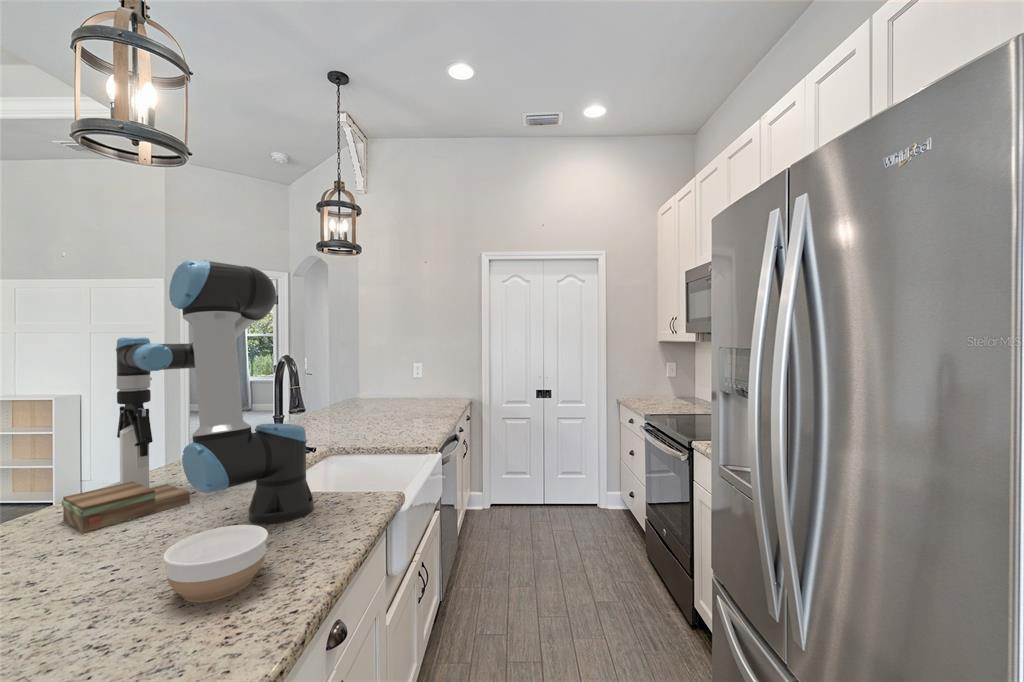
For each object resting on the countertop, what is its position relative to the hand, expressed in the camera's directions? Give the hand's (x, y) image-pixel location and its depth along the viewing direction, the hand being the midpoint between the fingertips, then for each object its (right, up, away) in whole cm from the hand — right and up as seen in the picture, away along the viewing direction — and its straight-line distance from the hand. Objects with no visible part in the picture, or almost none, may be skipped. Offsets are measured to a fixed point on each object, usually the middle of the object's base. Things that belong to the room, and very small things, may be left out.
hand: (134, 464), depth 129 cm
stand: (+10, -9, -13) cm, 19 cm away
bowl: (+57, -9, -48) cm, 76 cm away
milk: (0, -9, 0) cm, 9 cm away
